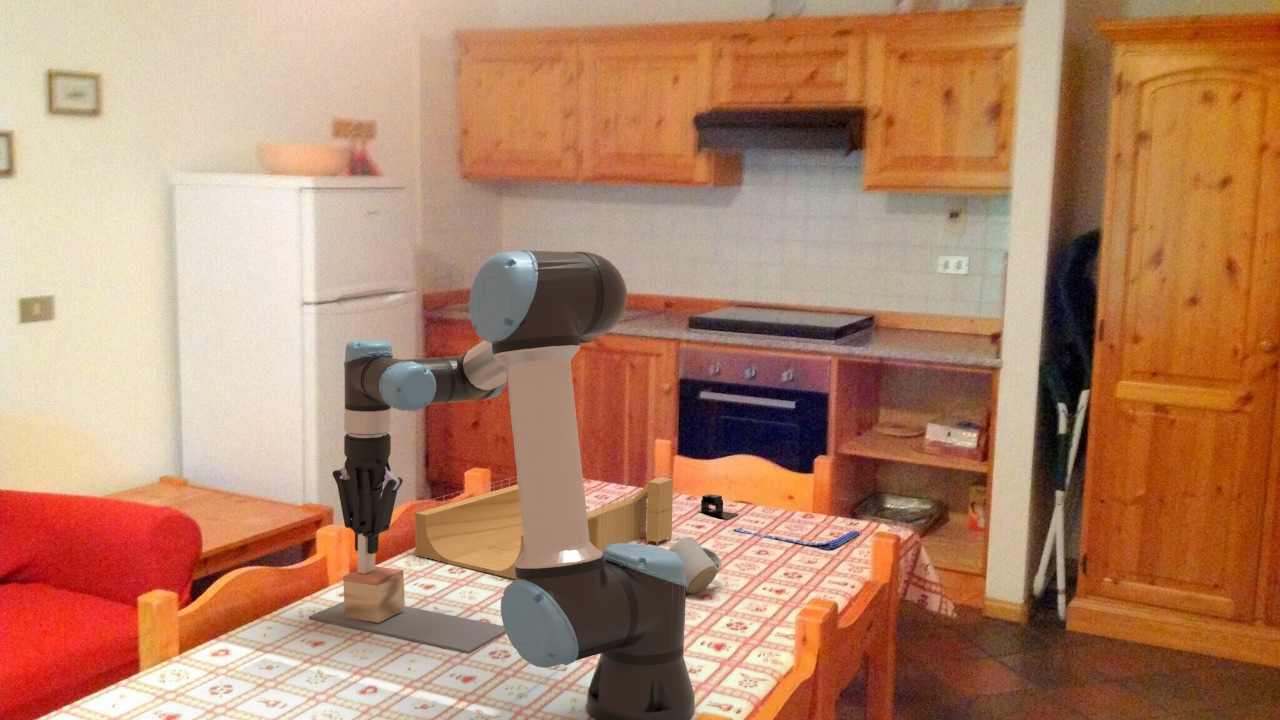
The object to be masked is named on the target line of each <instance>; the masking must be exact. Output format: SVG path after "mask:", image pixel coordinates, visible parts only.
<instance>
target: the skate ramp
mask: <svg viewBox="0 0 1280 720" xmlns="http://www.w3.org/2000/svg"><path fill="white" fill-rule="evenodd" d="M665 471H667V472H669V470H666V469H665ZM651 475H654V476H655V474H654V473H653V474H652V473H651ZM663 475H665V476H666V475H667V473H666V472H665V473H663V474H662V473H661V476H660V474H657V476H658V477H656V478H652V479H651V478H650V477H648V481H647V483H646V484H645V487H643V488H642V489H641V490H640V492H638V493H637V495H634V497H632V496H633V495H632V492H629V493H628V494H624V495H621V496H620V495H619V496H617V497H614V498H612V499H608V500H605V501H602V502H600V503H596V504H594V505H590V506H588V507H587V506H586V509H589V507H593V506H594V507H597V505H600V504H602V505H603V506H601V507H598V508H595V509H593V510H590V511H589V510H588V511H586V512H587V521H588V530H589V540H590V542H591V543H592V545H594V546H595V547H596V548H597V549H598V550H600V551H601V552H602V554H603V550H604V548H605V547H606V546H607V545H610V544H618V543H631V542H634V541H637V540H639V539H640V538H643V537H645V536H646V537H645V538H646V541H645V542H646V543H645V545H648V544H649V542H654V543H656V546H655V547H659V542H661V541H663V540H664V541H665V540H667V539H668V540H669V541H672V534H673V501H674V500H673V499H674V498H673V496H674V495H673V494H674V479H673V478H672V475H674V474H673V470H671V475H669V474H668V476H666V477H662V476H663ZM513 478H516V480H514V481H513V482H516V484H514V485H511V483H512V481H511V477H510V478H508V482H507V483H504V484H503V479H502V480H498V481H497V483H498V482H501V484H499V485H498V487H499V486H500V487H501V488H500V489H496V490H495V487H497V485H496V486H495V485H494V486H493V487H492V486H491V489H492V488H493V490H491V491H489V492H488V491H487V490H489V489H490V487H488V488H487V487H485V489H484V491H485V492H484V493H482V494H479V488H480V487H481V485H480V486H475V487H474V488H473V487H472V488H471V490H472V489H476V488H477V489H476V491H474V492H473V494H474V493H477V494H476V495H475V496H469V497H467V498H463V499H460V500H457V501H451V502H448V503H444V504H442V505H438V506H436V504H437V503H439V501H438V502H436V499H438V498H440V497H436V498H432V499H430V501H431V500H433V507H432V508H428V509H427V506H428V504H427V502H428V501H429V499H428V500H427V499H426V500H424V501H420V502H417V503H415V505H416V507H415V508H416V509H415V511H416V512H415V513H414V524H415V527H414V528H415V530H414V531H415V532H414V534H415V536H414V537H415V538H414V539H415V541H414V542H415V543H414V544H415V545H414V546H415V549H414V550H415V551H414V556H415V555H417V556H416V557H418V556H421V557H420V558H422V557H426V558H425V559H427V558H430V559H429V560H431V559H434V560H433V561H435V560H437V561H436V562H440V561H441V562H440V563H445V564H450V565H453V566H457V567H461V568H462V567H463V568H465V569H470V570H474V571H479V572H484V573H487V574H491V575H495V576H500V577H504V578H508V579H513V580H516V572H515V562H516V561H517V560H518V559H519V557H520V556H521V555H522V553H523V552H524V549H525V545H524V536H523V526H522V516H521V507H520V497H519V488H518V478H517V476H513V477H512V479H513ZM505 480H507V478H505V479H504V481H505ZM495 483H496V482H493V484H495ZM491 484H492V482H491V483H488V484H486V486H489V485H491ZM506 484H508V485H509V486H507V487H503V485H506ZM483 486H485V484H483V485H482V487H483ZM465 491H466V490H461V491H460V496H459V495H458V498H459V497H460V498H462V496H463V497H464V496H467V495H468V494H462V492H465ZM467 491H470V488H468V489H467ZM481 491H483V489H482V490H480V492H481ZM456 493H459V491H457V492H456ZM454 494H455V492H454V493H452V495H454ZM471 494H472V493H471V492H469V495H471ZM449 495H451V493H450V494H449V493H448V494H447V495H445V497H447V496H449ZM626 495H631V497H627V498H626ZM622 496H624V498H623V499H622V500H619V498H620V497H622ZM441 497H443V498H444V495H442V496H441ZM456 498H457V496H456V497H454V499H456ZM615 499H617V500H616V502H613V503H610V504H607V505H605V506H604V503H605V502H610V501H612V500H615ZM448 500H450V498H449V499H447V501H448ZM445 501H446V499H443V500H441V501H440V503H441V502H442V503H443V502H445ZM421 503H424V504H421ZM419 504H420V505H423V506H422V507H424V508H426V509H424V508H421V506H420V507H418V505H419ZM429 505H430V506H431V505H432V503H431V504H429ZM418 509H421V511H420V510H419V511H418Z"/></svg>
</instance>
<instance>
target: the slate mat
mask: <svg viewBox="0 0 1280 720" xmlns="http://www.w3.org/2000/svg"><path fill="white" fill-rule="evenodd" d="M308 619H310V620H314V621H319V622H323V623H328V624H332V625H337V626H342V627H346V628H350V629H351V628H352V629H356V630H360V631H365V632H369V633H375V634H377V635H382V636H388V637H391V638H392V637H393V638H397V639H402V640H406V641H410V642H414V643H419V644H423V645H429V646H433V647H439V648H443V649H448V650H452V651H456V652H461V653H466V654H471V653H473V652H474V651H476V650H478V649H480V648H481V647H483V646H485V645H487V644H488V643H490V642H492V641H494V640H495V639H497V638H499V637H500V636H502V635H504V634H506V631H505V628H504V625H501V624H495V623H491V622H485V621H480V620H475V619H471V618H465V617H461V616H460V617H459V616H455V615H451V614H447V613H446V614H445V613H441V612H437V611H432V610H431V611H430V610H426V609H421V608H416V607H412V606H407V605H405V611H403V612H400V613H398V614H396V615H394V616H392V617H390V618H388V619H385V620H383V621H381V622H379V623H377V622H371V621H364V620H358V619H352V618H346V617H345V608H344V601H342V602H339V603H338V604H334V605H333V606H330V607H328V608H327V607H326V608H325V609H323V610H321V611H317V612H315V613H313V614H311V615H308Z"/></svg>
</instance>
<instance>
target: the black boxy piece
mask: <svg viewBox="0 0 1280 720" xmlns="http://www.w3.org/2000/svg"><path fill="white" fill-rule="evenodd" d="M700 505H701V507H700V510H699V511H697V513H699V514H701V515H704V516H707V517H711V518H713V519H714V518H715V519H718V520H722V521H729V520H733V519H735V518H737V517H739V515H740V514H739V513H736V512H728V511H724V500H723V496H722V495H719V494H712V493H711V494H710V493H709V494H705V495H702V497H701V500H700ZM710 506H712V507H714V508H712V507H710Z"/></svg>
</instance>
